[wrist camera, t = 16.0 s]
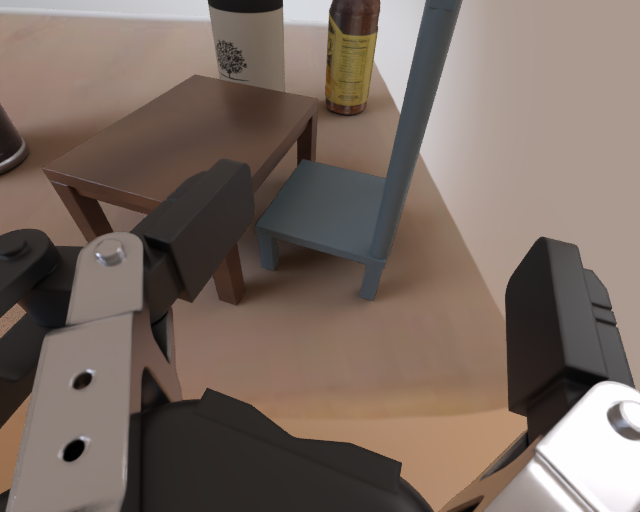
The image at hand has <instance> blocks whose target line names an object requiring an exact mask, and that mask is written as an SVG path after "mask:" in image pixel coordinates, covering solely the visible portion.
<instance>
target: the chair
mask: <svg viewBox="0 0 640 512" xmlns="http://www.w3.org/2000/svg"><path fill="white" fill-rule="evenodd" d="M461 4H462V0H426V3H425V7H424V12H423V16H422V21H421V25H420V30H419V34H418V38H417V43H416V47H415V52H414V57H413V61H412V65H411V70H410V75H409V79H408V83H407V88H406V93H405V97H404V102H403V106H402V110H401V115H400V119H399V124H398V128H397V132H396V137H395V141H394V146H393V150H392V155H391V159H390V164H389V168H388V173H387V177H386V178H382V177H377V176H373V175H369V174H365V173H360V172H356V171H352V170H347V169H343V168H339V167H335V166H330V165H326V164H322V163H317V162H313V161H309V160H305V159H302V161H301V162H300V163H299V165H298V166H297V168H296V169H295V170H294V172H293V173H292V175H291V176H290V177H289V179H288V180H287V182H286V183H285V184H284V186H283V187H282V189H281V190H280V191H279V193H278V194H277V196H276V197H275V198H274V200H273V201H272V202H271V204H270V205H269V207H268V208H267V209H266V211H265V212H264V214H263V215H262V216H261V218H260V219H259V221H258V222H257V223H256V225H255V231H256V233H257V234H258V242H259V251H260V260H261V267H263V268H266V269H269V270H273V271H274V270H275V268H276V266H277V265H278V263H279V246H278V239H279V240H282V241H286V242H289V243H293V244H296V245H300V246H303V247H307V248H310V249H314V250H317V251H321V252H324V253H328V254H331V255H335V256H338V257H342V258H345V259H349V260H352V261H356V262H360V263H363V264H366V268H365V273H364V277H363V282H362V286H361V291H360V295H359V297H362V298H365V299H368V300H372V301H374V299H375V295H376V292H377V288H378V285H379V281H380V277H381V274H382V270H383V269H384V268H385V264H386V261H387V257H389V255H390V252H391V248H392V245H393V241H394V238H395V234H396V231H397V227H398V224H399V220H400V217H401V213H402V210H403V206H404V203H405V199H406V196H407V193H408V189H409V186H410V182H411V179H412V175H413V172H414V168H415V165H416V161H417V158H418V154H419V151H420V147H421V144H422V140H423V137H424V133H425V130H426V126H427V123H428V119H429V116H430V112H431V109H432V105H433V102H434V98H435V95H436V91H437V88H438V84H439V81H440V77H441V74H442V70H443V67H444V63H445V60H446V57H447V53H448V50H449V46H450V42H451V39H452V36H453V31H454V29H455V25H456V22H457V18H458V14H459V11H460V8H461Z"/></svg>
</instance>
